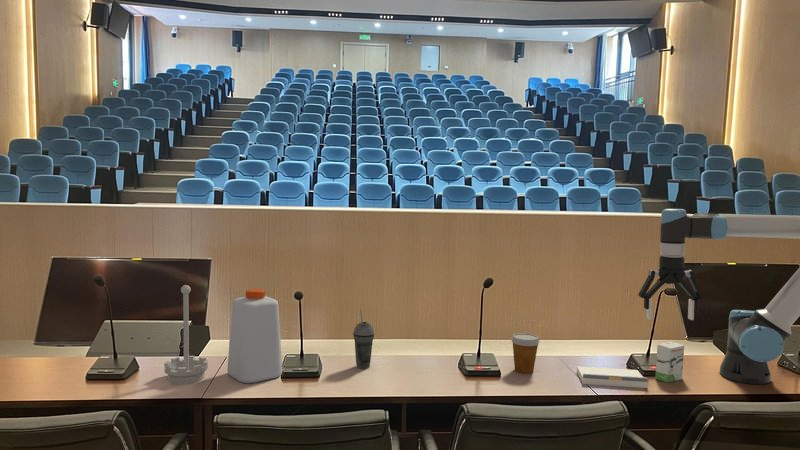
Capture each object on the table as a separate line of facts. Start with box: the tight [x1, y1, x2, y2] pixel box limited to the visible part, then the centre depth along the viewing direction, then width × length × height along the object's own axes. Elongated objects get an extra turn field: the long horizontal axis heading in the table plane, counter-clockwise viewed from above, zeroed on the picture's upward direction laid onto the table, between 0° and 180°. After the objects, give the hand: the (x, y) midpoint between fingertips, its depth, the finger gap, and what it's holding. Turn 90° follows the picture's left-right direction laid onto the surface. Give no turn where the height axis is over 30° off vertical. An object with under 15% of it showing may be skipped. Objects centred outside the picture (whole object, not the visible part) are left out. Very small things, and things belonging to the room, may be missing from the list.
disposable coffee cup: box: [511, 332, 540, 374], centre depth 206 cm, size 10×10×12 cm
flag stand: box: [163, 284, 209, 385], centre depth 189 cm, size 13×13×30 cm
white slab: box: [576, 365, 649, 389], centre depth 199 cm, size 20×12×3 cm, turn 83°
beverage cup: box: [352, 309, 375, 370], centre depth 205 cm, size 7×7×20 cm
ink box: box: [655, 341, 685, 384], centre depth 201 cm, size 9×5×12 cm, turn 123°
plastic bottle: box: [227, 288, 283, 384], centre depth 194 cm, size 15×15×28 cm
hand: (669, 319), depth 199 cm, fingers open, 13 cm apart
